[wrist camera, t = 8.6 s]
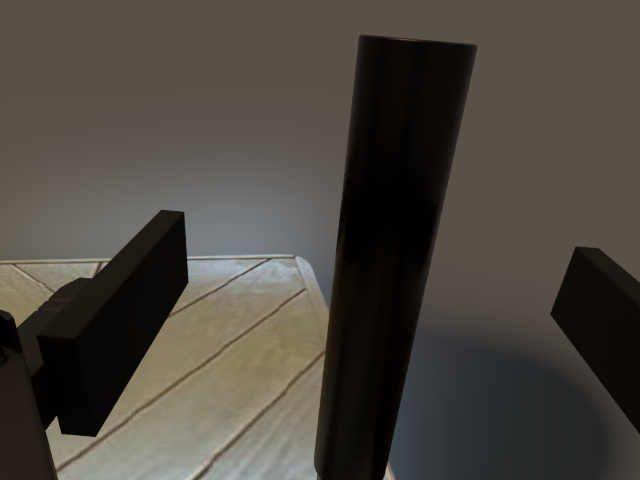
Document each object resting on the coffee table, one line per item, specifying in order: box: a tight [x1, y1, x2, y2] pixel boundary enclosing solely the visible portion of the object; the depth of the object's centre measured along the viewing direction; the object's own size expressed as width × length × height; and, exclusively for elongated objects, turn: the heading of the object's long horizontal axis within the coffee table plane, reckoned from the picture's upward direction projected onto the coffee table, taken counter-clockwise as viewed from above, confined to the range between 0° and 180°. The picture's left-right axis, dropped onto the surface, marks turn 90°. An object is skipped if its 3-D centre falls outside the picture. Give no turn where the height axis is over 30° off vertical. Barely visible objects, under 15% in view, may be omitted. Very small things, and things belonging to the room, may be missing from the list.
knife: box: [314, 35, 477, 480], centre depth 15 cm, size 4×3×23 cm, turn 103°
